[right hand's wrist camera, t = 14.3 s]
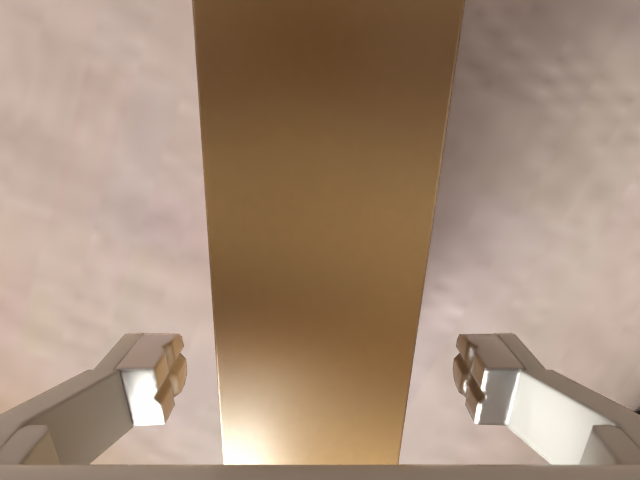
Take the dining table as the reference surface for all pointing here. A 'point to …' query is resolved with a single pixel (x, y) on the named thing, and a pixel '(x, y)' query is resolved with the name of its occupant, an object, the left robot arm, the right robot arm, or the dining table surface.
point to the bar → (320, 215)
